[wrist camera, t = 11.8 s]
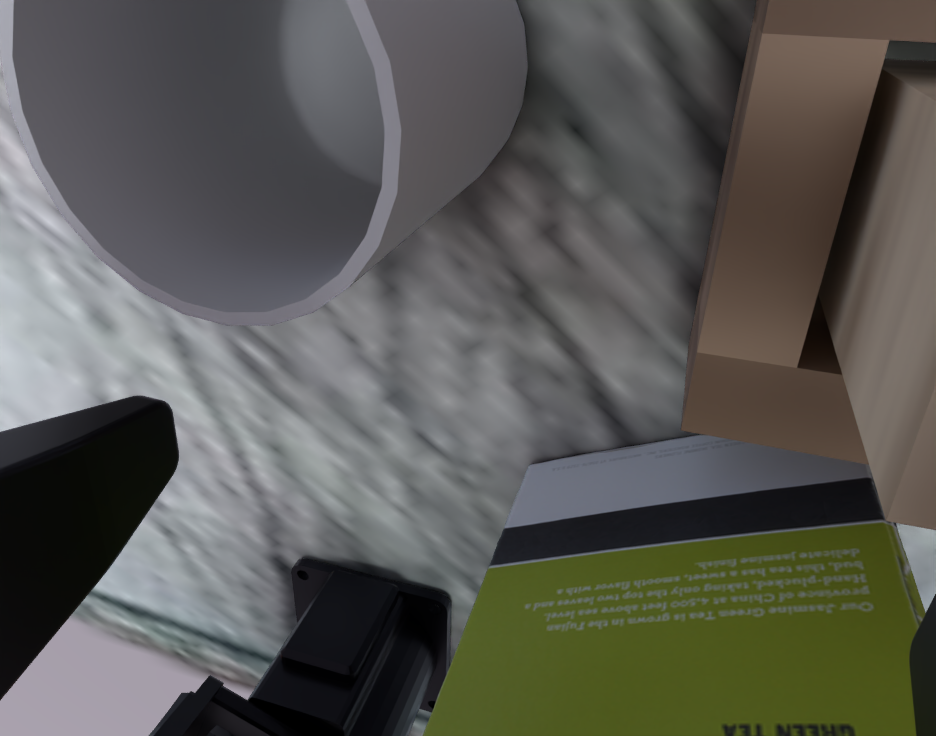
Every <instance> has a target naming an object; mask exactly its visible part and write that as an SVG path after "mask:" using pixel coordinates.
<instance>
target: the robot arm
mask: <svg viewBox="0 0 936 736" xmlns="http://www.w3.org/2000/svg"><path fill="white" fill-rule="evenodd" d="M178 461H179V450H178V444H177V437H176V430H175V424H174V417H173V412H172V409H171V407H170V406H169V404H168V403H166V402H165V401H162V400H158V399H154V398H150V397H145V396H132V397H128V398H125V399H121V400H117V401H113V402H110V403H106V404H102V405H99V406H95V407H91V408H87V409H84V410H80V411H76V412H73V413H69V414H65V415H62V416H58V417H54V418H50V419H47V420H43V421H39V422H36V423H32V424H28V425H24V426H21V427H17V428H13V429H10V430H6V431H2V432H0V700H1V699H2V698H3V696H4V695H5V694H6V693H7V692H8V690H9V689H10V688H11V687H12V686H13V684H14V683H15V682H16V681H17V679H18V678H19V677H20V676H21V675H22V673H23V672H24V671H25V670H26V669H27V667H28V666H29V665H30V663H32V661H33V660H34V659H35V658H36V656H37V655H38V654H39V653H40V652H41V651H42V649H43V648H44V647H45V646H46V645H47V643H48V642H49V641H50V640H51V639H52V637H53V636H54V635H55V634H56V632H57V631H58V630H59V629H60V627H61V626H62V625H63V624H64V623H65V622H66V620H67V619H68V618H69V617H70V616H71V614H72V613H73V612H74V611H75V610H76V608H77V607H78V606H79V605H80V604H81V602H82V601H83V600H84V599H85V598H86V596H87V595H88V594H89V593H90V592H91V590H92V589H93V588H94V587H95V585H96V584H97V583H98V582H99V581H100V579H101V578H102V577H103V575H104V574H105V573H106V572H107V570H108V569H109V568H110V566H111V565H112V564H113V562H114V561H115V559H116V558H117V557H118V555H119V554H120V553H121V551H122V550H123V548H124V547H125V545H126V544H127V542H128V541H129V539H130V538H131V536H132V535H133V533H134V532H135V530H136V529H137V527H138V526H139V525H140V523H141V522H142V520H143V519H144V517H145V516H146V514H147V513H148V511H149V510H150V508H151V507H152V505H153V504H154V502H155V501H156V499H157V498H158V496H159V495H160V493H161V492H162V491H163V489H164V488H165V486H166V485H167V483H168V482H169V480H170V479H171V477H172V476H173V474H174V472H175V470H176V468H177V465H178ZM291 573H292V581H293V589H294V598H295V606H296V615H297V625H296V626H295V628H294V629H293V631H292V632H291V634H290V635H289V637H288V638H287V640H286V642H285V643H284V645H283V646H282V648H281V649H280V651H279V652H278V654H277V655H276V657H275V659H274V660H273V662H272V663H271V665H270V666H269V668H268V669H267V671H266V672H265V674H264V675H263V677H262V679H261V680H260V682H259V683H258V685H257V686H256V688H255V689H254V691H253V692H252V694H251V695H250V697H249V699H248V700H246V699H244V698H243V697H241V696H239V695H237V694H236V693H234V692H232V691H231V690H229V689H227V688H226V687H224V686H223V684H224V683H223V682H221V681H220V680H218V679H216V678H214V677H213V676H211V675H210V676H209V677H208V678H207V679H206V680H205V682H204V683H203V684H202V685H201V687H200V688H199V689H198V690H197V691H196V693H194V692H192V691H191V692H190V693H181V694H180V696H179V697H178V699H177V700H176V701H175V702H174V704H173V705H172V707H171V708H170V709H169V711H168V712H167V713H166V714H165V716H164V717H163V719H162V720H161V721H160V722H159V724H158V725H157V726H156V728H155V729H154V730H153V731H152V732H151V733H150V735H149V736H408V735H409V732H410V730H411V727H412V725H413V723H414V720H415V718H416V715H417V713H418V710H419V709H422V710H426V711H429V712H432V711H433V709H434V706H435V703H436V700H437V697H438V694H439V692H440V689H441V687H442V685H443V682H444V680H445V677H446V675H447V672H448V670H449V663H450V624H451V603H450V600H449V599H448V597H446V596H445V595H444V594H441V593H439V592H435V591H431V590H427V589H424V588H420V587H416V586H412V585H408V584H404V583H400V582H396V581H392V580H388V579H384V578H380V577H376V576H372V575H368V574H365V573H361V572H357V571H353V570H349V569H345V568H341V567H337V566H333V565H329V564H325V563H321V562H317V561H313V560H309V559H303V558H302V559H299V560H298V561H297V562H296V564H295V565H294V567H293V568H292V572H291ZM436 605H437V606H436ZM438 606H439V607H438ZM909 666H910V676H911V687H912V697H913V708H914V718H915V728H916V736H936V594H935V596H934V598H933V600H932V602H931V604H930V606H929V608H928V610H927V612H926V614H925V616H924V618H923V620H922V622H921V624H920V626H919V628H918V630H917V632H916V634H915V636H914V638H913V640H912V643H911V647H910V653H909Z"/></svg>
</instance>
